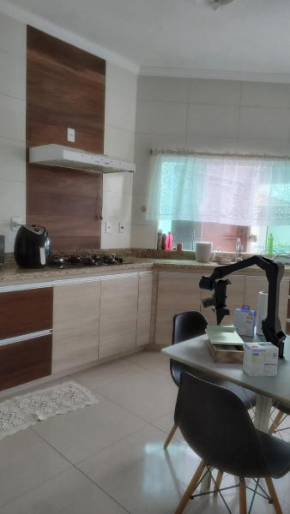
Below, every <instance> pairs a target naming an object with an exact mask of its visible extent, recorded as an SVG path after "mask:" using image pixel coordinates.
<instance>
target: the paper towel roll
mask: <svg viewBox="0 0 290 514" xmlns="http://www.w3.org/2000/svg"><path fill="white" fill-rule="evenodd" d="M267 305H268V291H259V292H258V302H257V312H256V323H255V333H256V335H259V336H264V337H265V335H264V334H263V332H262V330H261V327H262V320H263V319H265V318H266V317H267Z"/></svg>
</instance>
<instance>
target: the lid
mask: <svg viewBox="0 0 290 514" xmlns="http://www.w3.org/2000/svg"><path fill="white" fill-rule="evenodd" d="M204 331H205V333H206V335H207V338H209V340H210V342H211V344H228V345H243V346H244V345H245V343H246V342H244V340H243V339H242V338H241V336H240V335H239V334H237V333H236V331H235V327H234V326H233V325H231V326H230V325H217V324H216V325H213V324H211V325H210V324H207V325H206V328H205V330H204Z"/></svg>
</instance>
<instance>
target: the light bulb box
mask: <svg viewBox="0 0 290 514" xmlns="http://www.w3.org/2000/svg"><path fill="white" fill-rule="evenodd" d="M244 343H245V345H243V346H244V361H243V364H242V370H243V371H244V372H245V374H246V375H248V376H249V377H252V378H253V377H277V373H278V372H277V371H278V360H279V358H278V351H279V348H278V347H276V346H275V345H273V344H272V343H271V342H265V341H263V342H261V341H260V342H244Z"/></svg>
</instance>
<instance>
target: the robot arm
mask: <svg viewBox="0 0 290 514" xmlns="http://www.w3.org/2000/svg"><path fill="white" fill-rule="evenodd" d="M253 266H257V267H259V268H260V269H261V270H263V271H264V272H265V276H266V279H267V280H266V281H267V282H268V289H267V292H268V305H267V317H266V318H265V319H263V320H262V327H261V330H262V332H263V334H264V335H265V336H264V335H263V336H264V339H265V341H266V342H271V343H272V344H273V345H275V346H276V347H278V348H279V351H278V359H285V358H286V357H285V356H284V354H285V353H284V351H285V342H284V341H286V339H287V338H288V337H287V335H286V334H285V332H284V331H283V330H282V323H281V319H280V317H279V310H280V309H279V307H280V293H281V292H280V290H281V288H280V287H281V281H282V279H283V277H284V273H285V268H286V267H285V264H284V263H283V262H281V261H279V260H276V261H275V260H272V259H270V258H268V257H265V256H262V254H255V255H252V256H249V257H247V258H245V259H242V260H240V261H237V262H234V263H231V264H227V265H220V266H216V267H214V268H213V272H212V273H211V274H210V276H208V275H201V279H199V283H198V288H199V289H200V290H204V291H209V292H212V291H213V293H212V296H210V297H206V298H202V299H200V301H201V304H202V307H203V308H204V309H206V308H208V307H212V308H211V310H212V312H213V313H214V315H215V316H214V318H215V323H216V326H221V325H220V324H221V322H222V321H223V319H224V318H225V316H230V315H231V311H230V309H228V307H227V299H228V296H227V291H228V290H227V288H228V285H232V284H233V283H232V281H231V280H229V278H228V277H230V276H232V275H234V274H235V273H236V272H239V271H241V270H245V269H247V268H251V267H253ZM226 278H227V279H226Z"/></svg>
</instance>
